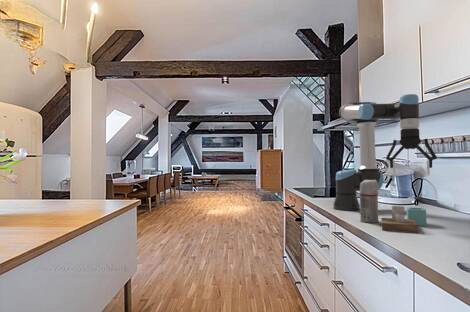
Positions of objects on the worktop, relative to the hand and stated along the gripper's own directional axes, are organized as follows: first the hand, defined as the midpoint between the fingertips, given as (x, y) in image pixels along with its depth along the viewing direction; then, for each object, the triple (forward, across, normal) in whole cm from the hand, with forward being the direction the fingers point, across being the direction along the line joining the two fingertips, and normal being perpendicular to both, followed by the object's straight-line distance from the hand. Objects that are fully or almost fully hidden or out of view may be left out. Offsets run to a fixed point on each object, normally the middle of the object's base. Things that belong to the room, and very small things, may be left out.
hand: (410, 175), depth 143 cm
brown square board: (+22, -6, -11) cm, 26 cm away
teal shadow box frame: (+22, +2, +2) cm, 22 cm away
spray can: (+22, -18, 0) cm, 29 cm away
